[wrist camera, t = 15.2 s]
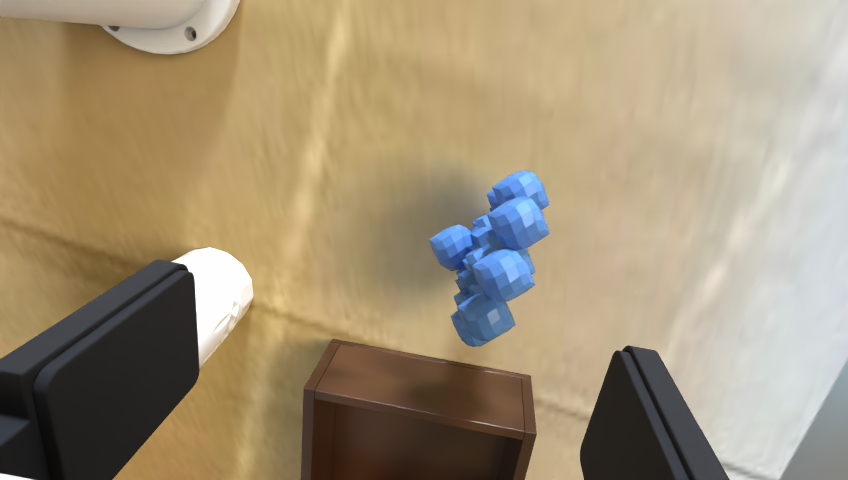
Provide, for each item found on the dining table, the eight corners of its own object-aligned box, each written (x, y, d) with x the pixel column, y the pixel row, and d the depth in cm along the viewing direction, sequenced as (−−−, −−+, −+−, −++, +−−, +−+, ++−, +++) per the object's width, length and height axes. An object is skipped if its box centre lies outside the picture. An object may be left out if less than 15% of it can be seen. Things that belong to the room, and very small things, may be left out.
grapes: (463, 132, 33) (444, 170, 22) (558, 160, 32) (590, 214, 21) (420, 279, 37) (386, 373, 26) (504, 304, 37) (506, 411, 26)
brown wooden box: (324, 491, 47) (298, 555, 41) (332, 338, 40) (303, 388, 34) (493, 527, 45) (493, 599, 39) (530, 375, 39) (536, 433, 33)
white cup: (266, 255, 38) (192, 319, 29) (256, 336, 41) (186, 417, 32) (173, 228, 39) (71, 283, 29) (170, 310, 42) (76, 383, 32)
